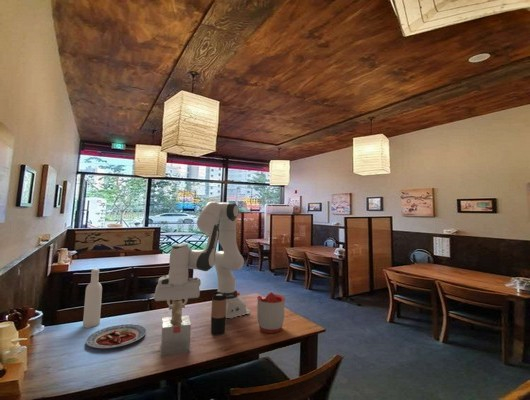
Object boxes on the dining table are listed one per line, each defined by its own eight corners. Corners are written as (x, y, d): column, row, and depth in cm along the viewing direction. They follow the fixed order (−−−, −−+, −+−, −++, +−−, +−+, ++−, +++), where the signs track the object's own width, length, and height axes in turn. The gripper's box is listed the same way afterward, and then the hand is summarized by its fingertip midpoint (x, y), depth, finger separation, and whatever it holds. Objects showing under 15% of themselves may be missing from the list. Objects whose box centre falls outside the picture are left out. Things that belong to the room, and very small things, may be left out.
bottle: (80, 328, 138) (85, 271, 140) (84, 323, 145) (88, 268, 148) (98, 326, 141) (102, 270, 144) (101, 321, 148) (104, 267, 151)
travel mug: (212, 336, 133) (214, 296, 134) (208, 330, 139) (210, 292, 141) (227, 334, 136) (228, 295, 138) (222, 328, 143) (223, 291, 144)
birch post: (179, 341, 123) (181, 298, 125) (180, 345, 119) (182, 301, 121) (169, 342, 122) (172, 299, 123) (170, 347, 118) (172, 301, 119)
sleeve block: (187, 340, 128) (188, 315, 129) (189, 352, 116) (191, 324, 117) (161, 343, 124) (162, 317, 125) (160, 356, 112) (162, 328, 113)
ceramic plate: (113, 357, 111) (113, 350, 111) (72, 345, 120) (73, 339, 120) (157, 333, 135) (157, 327, 135) (120, 325, 144) (121, 319, 144)
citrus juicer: (271, 320, 156) (272, 286, 157) (290, 331, 142) (291, 293, 143) (249, 326, 147) (250, 290, 148) (267, 338, 133) (268, 298, 134)
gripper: (199, 275, 130) (198, 304, 129) (155, 278, 122) (153, 308, 121) (201, 278, 124) (200, 308, 123) (155, 281, 116) (153, 313, 115)
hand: (176, 308), depth 122 cm, fingers closed on birch post, 4 cm apart
